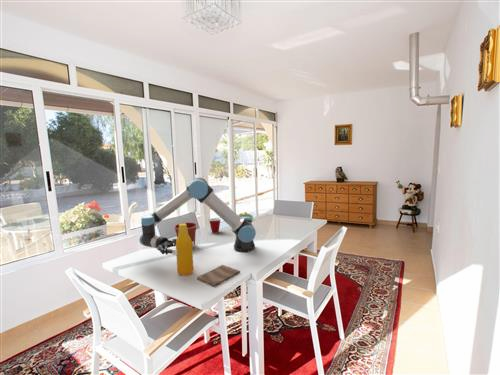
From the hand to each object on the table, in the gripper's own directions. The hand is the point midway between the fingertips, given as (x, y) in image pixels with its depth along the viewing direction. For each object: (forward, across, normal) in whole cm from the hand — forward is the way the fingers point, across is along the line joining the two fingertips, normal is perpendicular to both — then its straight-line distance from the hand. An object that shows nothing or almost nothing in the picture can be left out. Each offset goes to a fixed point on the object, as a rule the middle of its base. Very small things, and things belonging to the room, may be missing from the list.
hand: (185, 248), depth 152 cm
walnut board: (+19, -5, -15) cm, 25 cm away
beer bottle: (-1, 0, -15) cm, 15 cm away
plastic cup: (-33, -69, -15) cm, 78 cm away
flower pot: (-31, -33, -15) cm, 48 cm away
